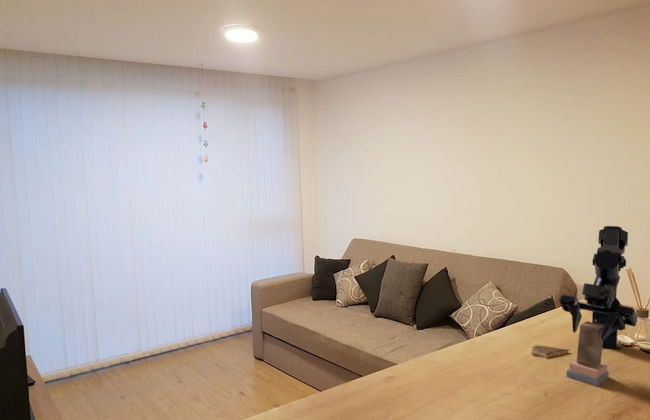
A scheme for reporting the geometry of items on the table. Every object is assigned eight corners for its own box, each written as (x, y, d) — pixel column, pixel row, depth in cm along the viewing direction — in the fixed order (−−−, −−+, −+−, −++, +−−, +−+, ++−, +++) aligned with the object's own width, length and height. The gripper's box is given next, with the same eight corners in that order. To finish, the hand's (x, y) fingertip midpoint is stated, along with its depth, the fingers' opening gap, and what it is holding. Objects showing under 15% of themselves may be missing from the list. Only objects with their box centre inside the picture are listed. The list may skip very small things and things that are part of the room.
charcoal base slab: (566, 378, 132) (566, 370, 131) (577, 369, 137) (578, 362, 137) (597, 388, 126) (598, 380, 125) (608, 379, 131) (608, 371, 131)
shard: (569, 354, 148) (569, 348, 148) (570, 363, 141) (570, 357, 141) (531, 348, 152) (532, 343, 152) (531, 357, 146) (531, 352, 145)
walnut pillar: (576, 362, 131) (580, 324, 130) (583, 358, 134) (587, 321, 132) (593, 368, 128) (597, 329, 126) (600, 364, 130) (604, 326, 129)
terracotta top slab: (569, 370, 131) (569, 363, 131) (580, 363, 136) (581, 356, 136) (596, 379, 126) (596, 371, 126) (607, 372, 130) (607, 364, 130)
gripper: (562, 267, 138) (544, 312, 132) (636, 278, 124) (620, 329, 118) (572, 288, 144) (555, 332, 138) (643, 301, 130) (628, 350, 124)
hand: (587, 335), depth 129 cm, fingers open, 7 cm apart
